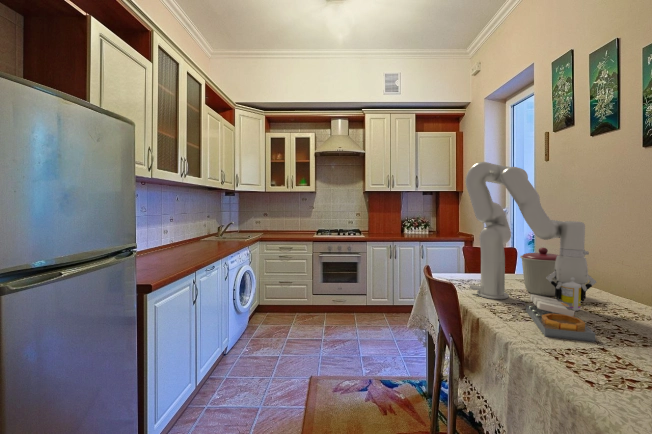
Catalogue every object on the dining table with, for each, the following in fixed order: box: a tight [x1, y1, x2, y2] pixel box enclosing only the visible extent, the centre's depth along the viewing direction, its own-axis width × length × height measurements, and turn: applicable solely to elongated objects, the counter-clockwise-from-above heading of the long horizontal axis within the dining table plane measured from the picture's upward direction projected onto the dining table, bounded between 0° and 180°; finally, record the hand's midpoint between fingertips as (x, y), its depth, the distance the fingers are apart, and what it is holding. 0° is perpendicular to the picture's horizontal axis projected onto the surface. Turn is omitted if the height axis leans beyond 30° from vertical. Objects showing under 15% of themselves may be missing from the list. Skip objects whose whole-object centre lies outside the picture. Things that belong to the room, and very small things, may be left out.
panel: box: [525, 304, 596, 343], centre depth 110 cm, size 13×26×4 cm, turn 160°
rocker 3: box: [536, 301, 576, 317], centre depth 112 cm, size 10×3×2 cm, turn 70°
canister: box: [519, 247, 560, 297], centre depth 150 cm, size 18×18×21 cm
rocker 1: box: [529, 293, 564, 303], centre depth 121 cm, size 10×3×2 cm, turn 70°
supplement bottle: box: [560, 277, 582, 312], centre depth 126 cm, size 7×7×13 cm
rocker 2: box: [532, 297, 569, 307], centre depth 116 cm, size 10×3×2 cm, turn 70°
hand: (569, 299), depth 127 cm, fingers closed on supplement bottle, 6 cm apart
